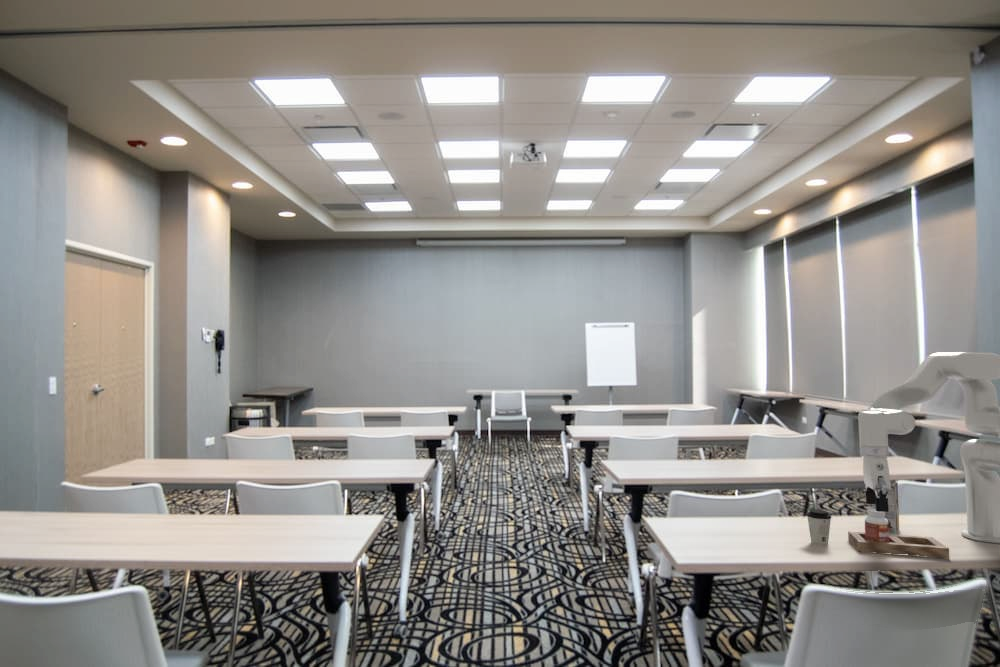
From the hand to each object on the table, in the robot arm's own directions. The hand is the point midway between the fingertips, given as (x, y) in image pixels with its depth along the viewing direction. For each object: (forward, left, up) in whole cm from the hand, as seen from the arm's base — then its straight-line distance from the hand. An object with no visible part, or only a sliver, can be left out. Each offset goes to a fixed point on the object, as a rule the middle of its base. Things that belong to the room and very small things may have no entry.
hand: (877, 507), depth 184 cm
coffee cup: (+16, 0, -12) cm, 20 cm away
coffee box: (-9, -22, -12) cm, 27 cm away
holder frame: (-5, 0, -12) cm, 13 cm away
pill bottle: (0, 0, -12) cm, 12 cm away
